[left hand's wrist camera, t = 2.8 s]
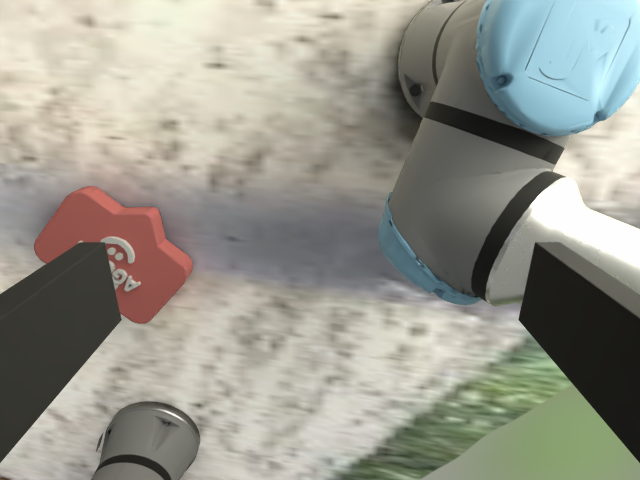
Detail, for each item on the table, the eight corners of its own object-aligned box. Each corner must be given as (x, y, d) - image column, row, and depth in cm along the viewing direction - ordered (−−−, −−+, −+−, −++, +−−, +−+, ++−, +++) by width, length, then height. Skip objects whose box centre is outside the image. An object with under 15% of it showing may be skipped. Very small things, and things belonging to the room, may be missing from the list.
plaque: (204, 260, 52) (141, 331, 56) (212, 249, 56) (151, 316, 60) (84, 168, 48) (24, 253, 52) (100, 162, 51) (43, 242, 55)
